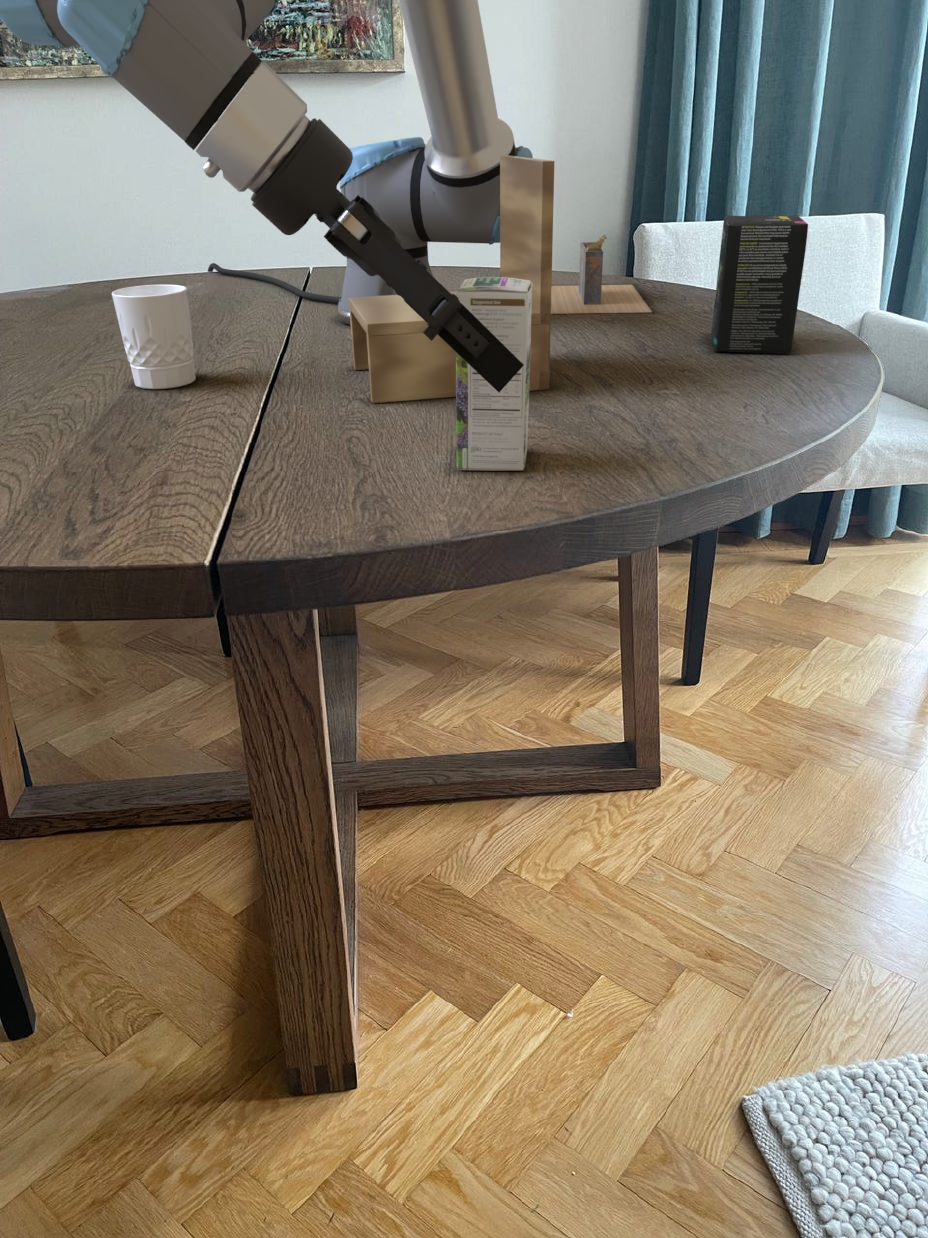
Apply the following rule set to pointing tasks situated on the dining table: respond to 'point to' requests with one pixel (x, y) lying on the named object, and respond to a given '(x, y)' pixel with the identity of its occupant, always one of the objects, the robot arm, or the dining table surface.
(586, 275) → the ruin model on sheet
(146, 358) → the white cup
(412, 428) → the dining table surface
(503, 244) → the shelf
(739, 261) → the tampon box
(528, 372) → the syrup box
